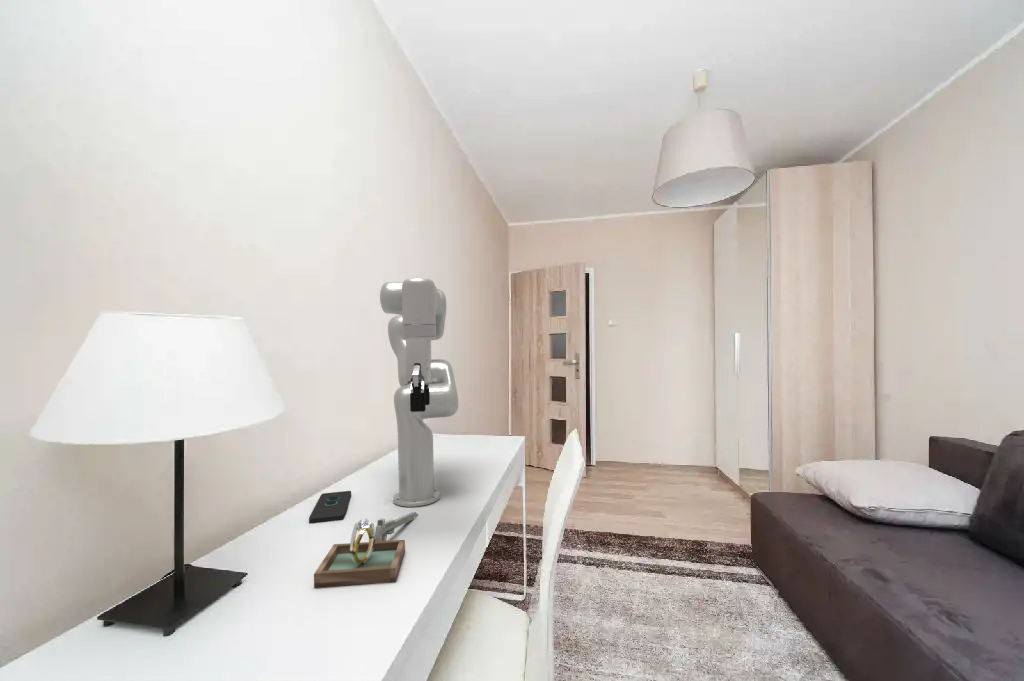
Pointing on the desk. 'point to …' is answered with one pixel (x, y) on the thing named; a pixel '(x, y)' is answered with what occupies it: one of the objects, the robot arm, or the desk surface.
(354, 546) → the ring
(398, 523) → the caliper
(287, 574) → the desk surface
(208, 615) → the desk surface
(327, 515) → the smart home device
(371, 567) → the jewellery tray
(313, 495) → the desk surface
